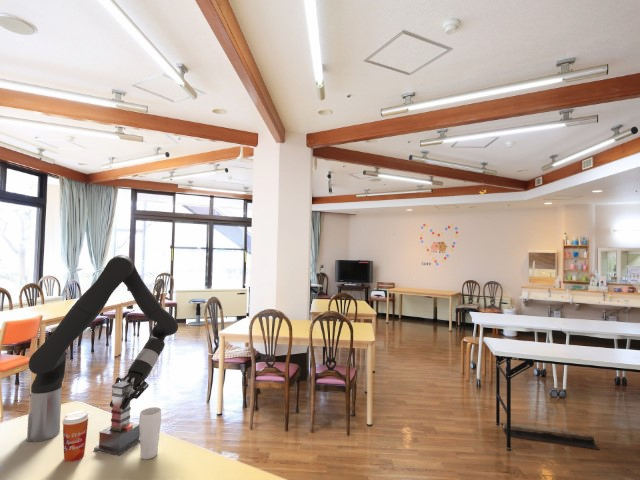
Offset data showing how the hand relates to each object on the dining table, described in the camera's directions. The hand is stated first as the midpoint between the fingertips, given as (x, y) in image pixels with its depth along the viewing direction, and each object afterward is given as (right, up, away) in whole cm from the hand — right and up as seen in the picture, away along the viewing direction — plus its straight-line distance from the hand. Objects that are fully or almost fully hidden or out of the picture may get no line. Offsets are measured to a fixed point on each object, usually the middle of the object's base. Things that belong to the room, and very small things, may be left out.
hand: (116, 407), depth 124 cm
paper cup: (-11, -14, -6) cm, 19 cm away
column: (0, -9, +2) cm, 9 cm away
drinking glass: (+14, -14, -5) cm, 21 cm away
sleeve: (0, -14, +1) cm, 14 cm away
